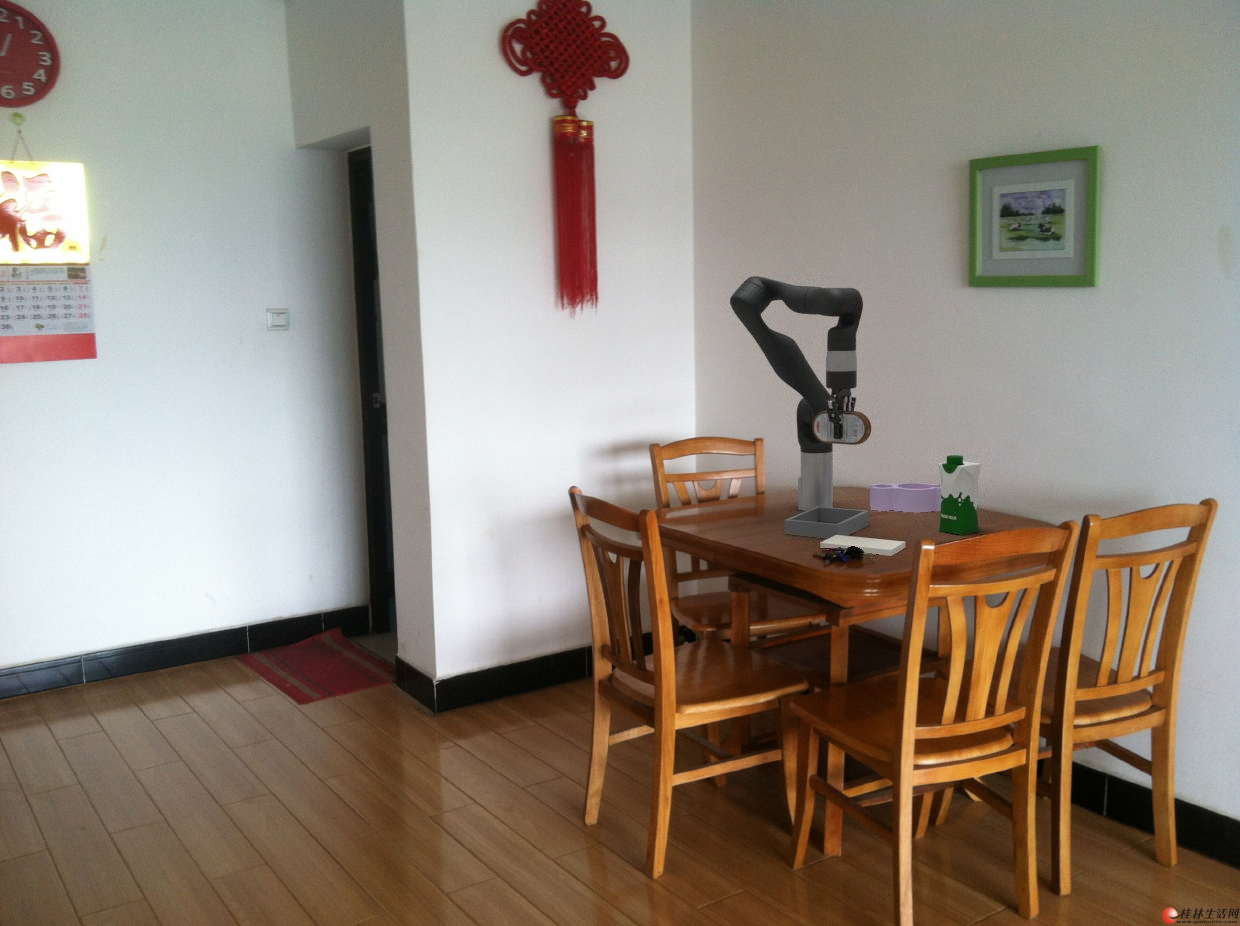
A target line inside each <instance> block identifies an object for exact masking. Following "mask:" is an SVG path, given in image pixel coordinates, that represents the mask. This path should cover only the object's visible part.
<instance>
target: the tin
mask: <svg viewBox="0 0 1240 926" xmlns="http://www.w3.org/2000/svg"><path fill="white" fill-rule="evenodd" d="M838 411H841V410H838ZM839 417H840V415H839ZM812 429H813V433H814V435H815V437H816V438H817V439H818V440H819V441H821V442H823V443H832V445H833V444H834V445H835V444H836V445H848V446H849V445H850V446H856V445H860V444H864V443H865V442H866V441H867V440H868V439H869V438H870V436H871V433H872V425H871V422H870V419H869V417H868V416H867V415H866V414H864V413H863V412H862V411H856V410H854V411H845V414H844V415H843V438H842V439H834V438H833V424H832V422H829V418H828V413H827V410H826V411H823V412H821V413H819V414H818V415H816V417H815V418H814V420H813V424H812Z"/></svg>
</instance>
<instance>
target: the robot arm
mask: <svg viewBox="0 0 1240 926" xmlns="http://www.w3.org/2000/svg"><path fill="white" fill-rule="evenodd" d="M863 300H864V299H863V296H862V293H860V291H859V290H858V289H857V288H854V287H820V286H811V285H810V286H807V285H796V284H790V283H787V282H782V281H779V280H775V279H771V278H768V277H763V276H760V275H759V276H756V275H753V276H749V277H748V278H747V279H745V280H744V281H743V282H742V283H741V284H740V285H739V287H738V288H737V289H736V290H735V291H734V292H733V293H732V295H731V296H730V299H729V304H730V307H731V309H732V311H733V312H734V314H735V316H736V317H737V318H738V320H739V321H740V322H741V323H742V325H743V326H744V327H745V328H746V330H747V332H749V334H750V335H751V336H752V338H753V340H754V341H755V342H756V344H757V346H758V347H759V348H760V350H761V352H762V353H763V354H764V357H766V360H767V361H768V363H769V365H770V367H771V369H772V370H773V371H774V373H775V374H776V376H778V378H779V379H780V380H781V381H782V382H784V383H785V384H786V385H787V386H789V387H790V388H792V389H793V390H794V391H795V392H797V393H798V394H799V395H800V396H801V397H802V398H801V399H800V400H799V402H798V404H797V408H796V431H797V432H796V433H797V441H798V444H799V447H800V448H799V449H800V476H799V477H797V510H799V511H802V512H805V511H808V510H810V509H812V508H815V507H817V506H818V507H830V508H834V506H833V505H834V501H833V500H834V499H833V498H834V497H833V496H834V495H833V493H834V492H833V491H834V490H833V489H834V488H833V486H834V485H833V484H834V483H833V481H834V480H833V479H834V478H833V476H834V475H833V473H834V469H833V467H834V466H833V465H834V463H833V460H834V459H833V456H834V455H833V450H834V449H833V447H834V446H833V443H823V442H821V441H819V440H818V439H817V438H816V437H815V435H814V433H813V429H812V424H813V420H814V418H815V417H816V415H818V414H819V413H821V412H823V411H826V410H827V413H828V418H829V422H832V424H833V438H834V439H842V438H843V415H844V414H845V411H855V407H856V401H857V398H856V396H852V389H856V387H857V386H858V385H857V379H858V378H857V377H858V374H857V372H858V357H857V332H858V330H859V325H860V323H861V322H860V321H861V317H862V313H863V308H864V301H863ZM773 301H774V302H775V301H782V302H783V303H784V305H785V306H786V307H787V308H788V309H789V310H791V311H792V312H793V313H796V314H802V315H816V316H818V315H819V316H824V317H833V318H834V317H836V318H838V321H837V323H836V325H835V326H832V327H830V328H829V329H828V330H827V335H826V336H827V337H826V338H827V340H826V344H827V345H826V346H827V347H826V349H827V350H826V358H825V386H824V385H823V384H822V382H821V380H820V379H819V378H818V376H817V374H816V373H815V371H814V370H813V368H812V366H811V364H809V362H808V360H807V359H806V356H805V355H804V353H803V351H802V350H801V348H800V347H799V345H798V343H797V342H796V341H795V339H793V337H791V336H788V335H786V334H783V333H781V332H778V331H776V330H774V329H771V328H770V327H769V326H768V325H767V324H766V321H764V319H763V317H762V314H763V312H764V311H765V310H766V309H767V308H768V307H769V305H770V304H771V303H772V302H773ZM826 388H827V389H829V390H830V389H831V393H830V392H829V391H828V390H827V389H826ZM838 410H841V411H838ZM839 415H840V417H839Z"/></svg>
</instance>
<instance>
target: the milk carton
mask: <svg viewBox="0 0 1240 926" xmlns="http://www.w3.org/2000/svg"><path fill="white" fill-rule="evenodd" d="M981 469H982V463H979V462H971V461H964V456H963V455H960V454H959V455H958V454H957V455H956V454H954V455H953V454H951V455H950V454H949V455H946V462H940V463H939V462H938V470H939V474H940V488H941V512H940V515H939V529H938V531H939V532H943V533H946V532H948V533H947V534H951V533H954V534H953V535H956V534H959V535H958V536H962V535H961V534H965V535H970V534H973V533H972V532H975V533H979V530H980V529H979V519H978V501H979V500H978V498H979V497H978V496H979V493H978V492H979V486H978V485H979V476H980V472H981ZM969 533H970V534H969Z"/></svg>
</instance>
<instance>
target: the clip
mask: <svg viewBox="0 0 1240 926" xmlns="http://www.w3.org/2000/svg"><path fill="white" fill-rule="evenodd" d="M870 507H871V508H870ZM869 508H870V511H872V510H878V511H877V512H881V511H887V512H890V511H889V510H894V511H893V512H898V511H903V512H902V513H906V512H914V513H913V514H921V513H920V512H928V513H932V512H931V511H934V512H938V511H941V483H927V482H900V483H873V484H869Z"/></svg>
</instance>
